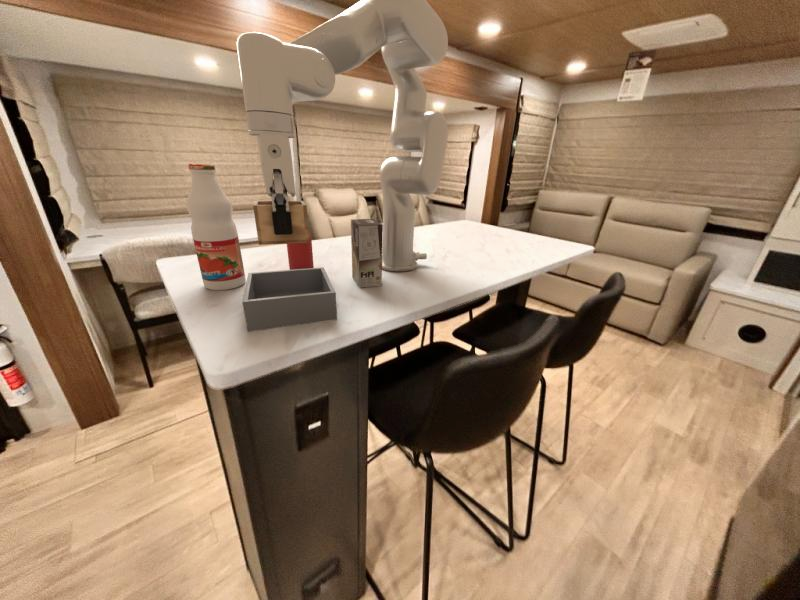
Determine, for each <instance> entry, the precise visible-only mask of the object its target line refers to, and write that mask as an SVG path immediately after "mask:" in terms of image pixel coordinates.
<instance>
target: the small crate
mask: <svg viewBox="0 0 800 600" xmlns="http://www.w3.org/2000/svg"><path fill="white" fill-rule="evenodd" d="M288 204H289V212H291V220H292V230H293V233H292V234H288V235H275V234H274V227H273V219H272V212H273V207H272V200H254V202H253V205H252V207H253V208H252V209H253V213H254V214H253V215H254V221H255V226H256V229H255V230H256V234H257V242H258V245H259V246H263V245H264V246H265V245H284V244H286V245H287V244H289V243H309V234H310V231H309V223H308V222H309V220H308V210H307V208H308V207H307V203H305V201H304V200H288ZM275 206H276V204H275ZM308 231H309V232H308Z"/></svg>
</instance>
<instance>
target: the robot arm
mask: <svg viewBox="0 0 800 600" xmlns="http://www.w3.org/2000/svg"><path fill="white" fill-rule="evenodd" d="M448 38H449V37H448V32H447V29H446V25H445V24H444V22H443V20H442V18H440V16H439V15H438V13H437V12H436V11H435V10H434V8H432V6H431V5H430V4H429V2H428V1H427V0H359V1H358V2H356V3H354V4H353V5H351V6H350V7H349V8H347V9H345V10H343V12H341V13H340V14H337V15H336V16H335V17H333V18H331V19H329V20H327V21H325V22H323V23H322V24H319V25H318V26H316V27H315V28H314V29H312V30H310V31H309V32H307V33H305V34H303V35H301V36H299V37H298V38H295V39H294V40H292V41H290V42H288V43H287V42H283V41H281V40H280V39H279V38H278V37H275V36H273V35H271V34H267V33H262V32H258V31H257V32H256V31H252V32H250V31H248V32H243V33H241V34H240V35H239V36H238V37H237V41H236V49H237V59H238V65H239V70H240V80H241V86H242V94H243V101H244V110H245V115H246V122H247V123H246V124H247V130H248V135H249V136H254V137H256V140H257V147H258V153H259V154H258V155H259V161H260V163H259V164H260V168H261V173H262V179H263V183H264V187H265V191H266V195H268V197H270V198H271V201H272V207H273V212H272V219H273V227H274V234H275V235H288V234H292V233H293V230H292V220H291V212H289V204H288V201H289V194H290V196H291V197H295V196H296V186H295V184H296V183H295V178H294V177H295V176H294V168H293V158H292V157H293V156H292V149H291V143H290V139H295V138H296V134H295V133H296V132H295V123H294V122H295V121H294V110H293V104H294V103H299V102H309V101H310V102H314V101H320V100H323V99H326V98H327V97H328V96H330V95H331V93H332V92H333V90H334V88H335V86H336V85H335V84H336V76H337V75H340V74H344V73H347V72H349V71H351V70H353V69H354V70H355V69H356V68H359V67H360V66H361V65H362V64H365V62H366V61H368V59H370V58H371V57H372V56H373V55H375V54H376V53H378V51H380V50H381V56H382V59H383V61H384V64H385V66H386V68H387V71H388V72H389V75H390V79H391V81H392V83H393V88H394V103H393V110H392V116H391V117H392V118H391V126H390V135H389V136H390V137H389V138H390V143H391V146H392V147H393V149H395V150H396V151H398V152H404V153H407V152H408V153H421V156H413V155H412V156H411V155H410V156H408V155H398V156H397V155H394V156H390V157H388V158H386V159H385V160H384V161H382V164H381V166H380V169H379V180H380V186H381V193H382V225H383V229H382V270H384V271H388V272H408V271H412V270H415V269H417V266H418V262H417V261H419V260H427V257H428V255H427V253H426V252H421V253H420V252H419V251H418V252H416V251H414V235H415V234H414V233H415V219H416V218H415V217H416V207H415V204H414V201H413V198H412V196H411V194H412V195H422V196H429V195H433V194H434V193H435V192H436V191H437V190H438V189H439V186H440V183H441V179H442V176H443V175H442V172H443V169H444V162H445V157H446V151H447V144H448V137H449V131H448V129H449V128H448V123H447V120H446V119H447V118H446V117H445V116H444V114H443V113H442V112H439V111H435V110H429V111H427V110H426V106H427V104H426V103H427V89H426V87H425V84H424V82H423V81H422V78H421V77H420V75H419V74H418V72H417V70H416V68H417V69H418V68H425V67H432V66H436V65H438V64H440V63H441V62H442V61H443V60H444V58H445V57H446V55H447V52H448V49H449V48H448V46H449V39H448ZM275 204H276V206H275Z"/></svg>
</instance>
